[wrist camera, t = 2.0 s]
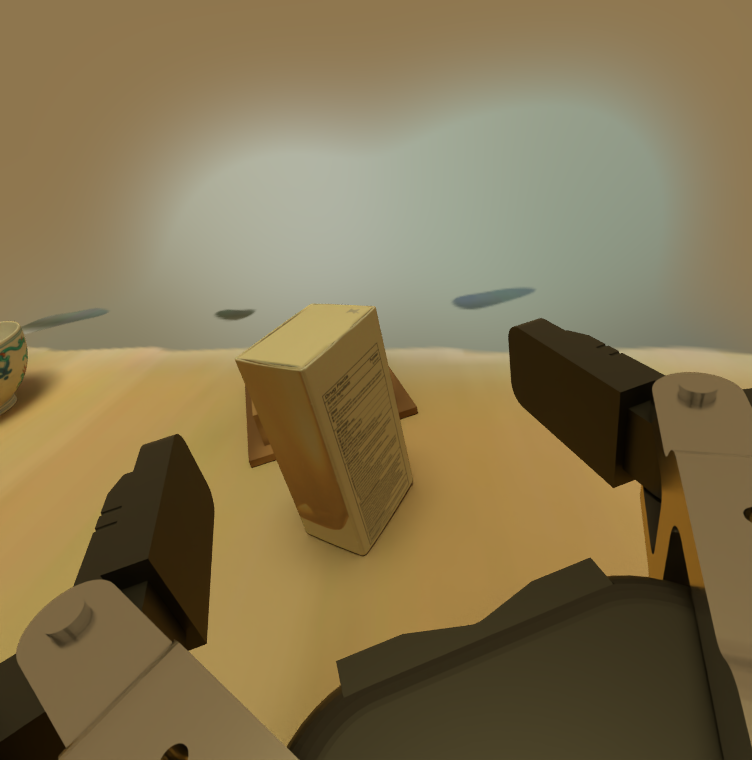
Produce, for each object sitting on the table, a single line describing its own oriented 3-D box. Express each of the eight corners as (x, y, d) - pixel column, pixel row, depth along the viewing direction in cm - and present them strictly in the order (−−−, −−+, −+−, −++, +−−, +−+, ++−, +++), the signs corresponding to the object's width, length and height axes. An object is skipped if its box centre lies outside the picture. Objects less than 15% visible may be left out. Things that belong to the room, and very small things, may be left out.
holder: (251, 467, 33) (235, 430, 31) (246, 385, 44) (234, 355, 42) (417, 413, 35) (411, 375, 33) (373, 347, 46) (366, 317, 44)
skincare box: (359, 466, 31) (313, 299, 25) (416, 481, 29) (381, 301, 23) (301, 538, 27) (227, 355, 20) (363, 563, 24) (301, 366, 18)
